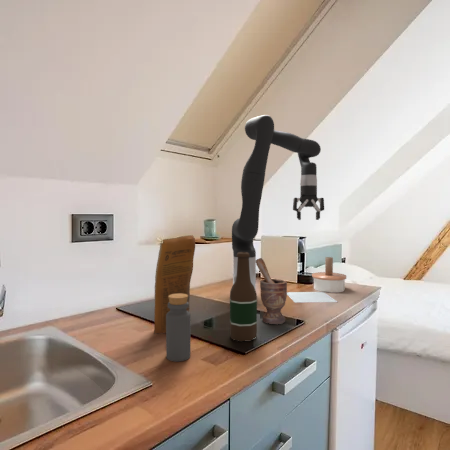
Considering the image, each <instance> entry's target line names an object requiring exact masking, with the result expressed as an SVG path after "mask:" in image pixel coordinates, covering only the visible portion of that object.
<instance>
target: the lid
mask: <svg viewBox="0 0 450 450" xmlns="http://www.w3.org/2000/svg"><path fill="white" fill-rule="evenodd" d="M333 264H334V258H333V257H332V256H331V257H330V256H325V264H324V266H325V267H324V268H325V271H323V272H322V271H321V272H313V273H311V277H312V278H313V279H314V278H316V279H321V280H345V281H346V280H347V275H346V274H344V273H340V272H339V273H338V272H334V269H333V268H334V265H333Z"/></svg>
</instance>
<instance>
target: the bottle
mask: <svg viewBox="0 0 450 450" xmlns="http://www.w3.org/2000/svg"><path fill="white" fill-rule="evenodd" d="M168 297H169V303H168V308H169V309H170V311H169V312H168V313H167V314H166V333H165V341H166V343H165V346H166V347H165V348H166V349H165V352H166V357H165V358H166V359H167V360H168V361H170V362H185V361H186V360H189V359H190V357H191V322H190V321H191V312H190V310H189V311H187V310H186V308H188V307H189V308H190V302H189V303H188V302H187V299H188V295H187V294H181V293H178V294H171V295H169V296H168Z"/></svg>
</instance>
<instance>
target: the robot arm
mask: <svg viewBox="0 0 450 450" xmlns="http://www.w3.org/2000/svg"><path fill="white" fill-rule="evenodd" d="M244 131H245V134H246V136H247V137H248V138H249V139H251V140H252V141H253V140H254V141H255V142H254V147H253V149H252V152H251V154H250V156H249V158H248V159H247V161H246V162H245V165H244V167H243V171H242V175H241V181H240V183H241V184H240V192H241V200H242V201H241V202H242V203H241V210H240V216H239V218H237V219H236V220H234V222H232V223H233V224H232V225H231V248H232V253H233V260H232V261H233V264H232V265H233V268H232V270H233V273H232V285H233V284H234V283H235V281H236V276H237V262H238V257H237V253H239V252H247V253H249V255H250V257H249V269H250V280H251V283H252V284H253V286H254V288H255V290H256V289H257V288H256V287H257V285H256V284H257V281H256V280H257V270H256V269H257V267H256V266H257V264H256V260H257V258H256V254H257V253H256V248H255V247H254V239H255V238H256V236H257V234H258V233H259V222H260V221H259V220H260V219H259V218H260V207H261V201H262V195H263V190H264V185H265V177H266V169H267V164H268V158H269V152H270V148H271V144H272V145H273V146H274V145H275V146H277V147H280V148H283V149H285V150H288V151H290V152H292V153H297V157H298V161H299V164H300V183H299V185H300V188H299V189H300V194H299V195H300V196H299V197H294V198H293V199H292V201H293V204H292V205H293V206H292V210H293V211H295V212H296V218H297V220H298V221H301V219H302V209H304V207H305V208H308V207H309V208H313V209H314V210H315V220H318V221H319V219H321V212H323V211H325V199H324V197H320V198H319V197H318V177H317V175H318V174H317V164H316V163H315V162H311V160H310V158H315V157H317V156H319V154H320V153H321V146H320V143H319V142H317V141H315V140H314V139H313V140H312V139H309V138H302V137H300V136H298V135H297V134H294V133H290V132H287V131H282V130H276V129H275V122H274V119H273V117H272V116H270V115H269V114H263V115H259V116H256V117H255V116H254V117H252V118H250V119H248V120H247V121H246V123H245V125H244ZM299 202H300V205H299V206H298V203H299ZM317 202H318V203H319V205H318V204H317ZM256 291H257V290H256Z"/></svg>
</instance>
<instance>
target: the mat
mask: <svg viewBox="0 0 450 450" xmlns="http://www.w3.org/2000/svg"><path fill="white" fill-rule="evenodd" d="M287 297H289V298H290V299H291V301H292V302H293V303H295V304H298V303H338V300H336V299H334V298H333V297H331V296H330V295H329V294H327V292H322V291H289V292H288V291H287Z"/></svg>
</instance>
